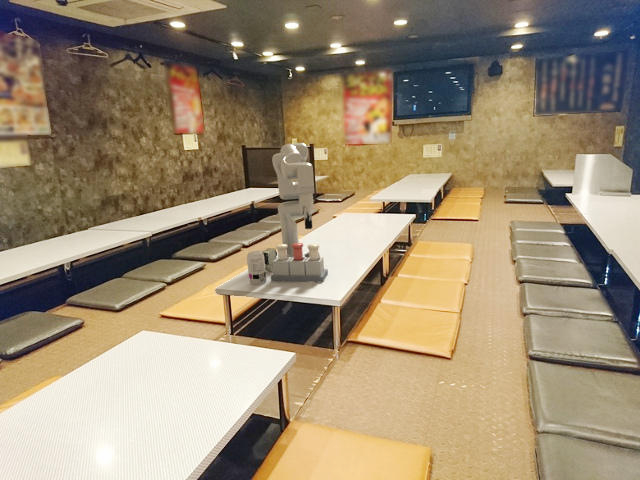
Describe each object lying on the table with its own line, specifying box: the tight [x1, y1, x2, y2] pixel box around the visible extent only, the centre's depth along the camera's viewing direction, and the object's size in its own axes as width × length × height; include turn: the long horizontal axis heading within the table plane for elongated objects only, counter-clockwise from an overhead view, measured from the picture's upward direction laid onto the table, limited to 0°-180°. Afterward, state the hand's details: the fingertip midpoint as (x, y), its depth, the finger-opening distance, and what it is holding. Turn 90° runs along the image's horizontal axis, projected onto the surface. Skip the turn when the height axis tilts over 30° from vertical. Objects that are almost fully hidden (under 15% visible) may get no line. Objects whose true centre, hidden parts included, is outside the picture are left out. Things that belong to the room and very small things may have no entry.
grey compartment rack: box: [270, 256, 329, 283], centre depth 208 cm, size 12×26×10 cm, turn 78°
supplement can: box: [246, 250, 267, 286], centre depth 204 cm, size 8×8×15 cm
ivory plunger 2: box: [307, 243, 320, 261], centre depth 205 cm, size 6×6×8 cm
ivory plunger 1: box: [275, 243, 288, 261], centre depth 208 cm, size 6×6×8 cm
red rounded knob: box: [292, 242, 304, 261], centre depth 206 cm, size 6×6×8 cm
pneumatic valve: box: [261, 247, 278, 272], centre depth 223 cm, size 6×12×12 cm, turn 156°
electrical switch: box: [304, 251, 321, 257], centre depth 225 cm, size 9×5×9 cm, turn 152°
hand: (308, 228), depth 202 cm, fingers closed
